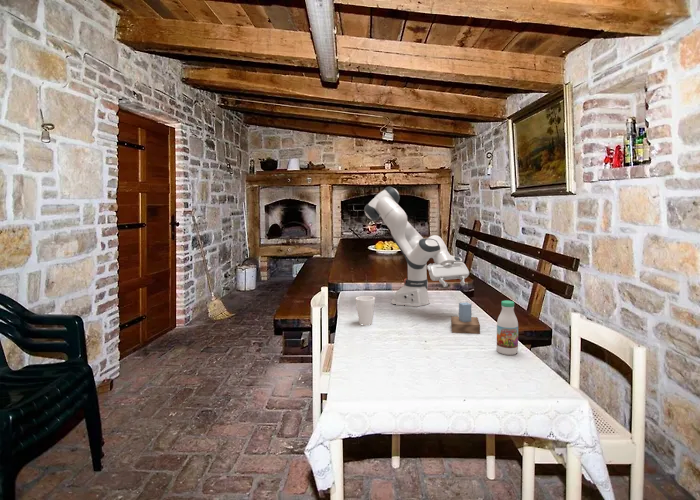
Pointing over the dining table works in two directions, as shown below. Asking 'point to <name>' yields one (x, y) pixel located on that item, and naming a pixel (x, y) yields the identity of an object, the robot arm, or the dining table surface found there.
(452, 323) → the base brick
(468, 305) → the tower block
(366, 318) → the foam cup
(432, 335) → the dining table surface
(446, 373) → the dining table surface
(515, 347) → the milk bottle
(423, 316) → the dining table surface
